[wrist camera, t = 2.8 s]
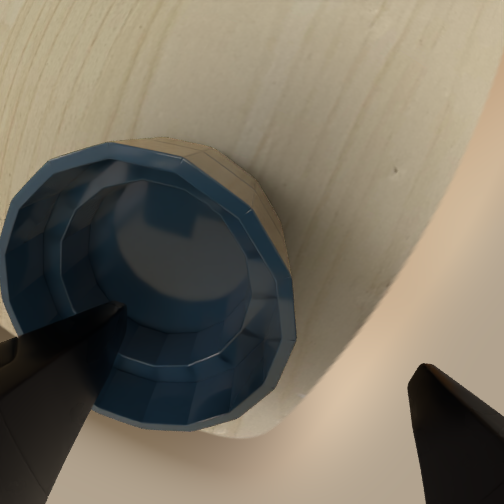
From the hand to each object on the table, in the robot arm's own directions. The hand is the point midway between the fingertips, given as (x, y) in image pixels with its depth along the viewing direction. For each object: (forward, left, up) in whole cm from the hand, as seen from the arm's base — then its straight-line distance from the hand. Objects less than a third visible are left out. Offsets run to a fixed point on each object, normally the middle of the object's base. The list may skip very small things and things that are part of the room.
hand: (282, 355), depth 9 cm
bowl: (+4, +2, -5) cm, 7 cm away
